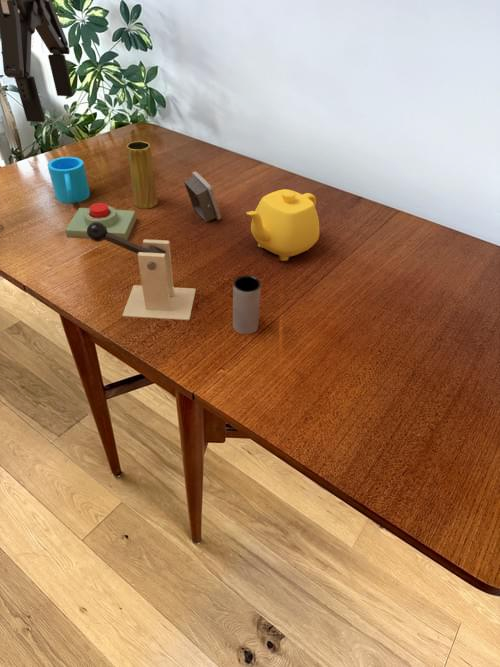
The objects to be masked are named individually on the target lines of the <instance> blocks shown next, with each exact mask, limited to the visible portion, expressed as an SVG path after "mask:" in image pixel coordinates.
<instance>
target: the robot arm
mask: <svg viewBox="0 0 500 667" xmlns="http://www.w3.org/2000/svg"><path fill="white" fill-rule="evenodd" d="M58 16H59V15H58V14H57V11H56V9H55V6H54V3H53V2H52V0H0V44H1V55H2V56H1V57H2V66H3V67H2V68H3V73H4V76H5V77H7V78H10V79H12V78H13V79H14V80H15V81H14V82H15V84H16V87H17V88H16V89H17V91H18V95H19V98H20V101H21V105H22V108H23V112H24V116H25V119H26V122H30V123H31V122H32V123H45V121H46V118H45V115H44V111H43V107H42V103H41V99H40V95H39V92H38V87H37V83H36V80H35V76H31V62H32V35H33V34H35V32H37V34H38V35H39V37H40V39H41V40H42V42H43V44H44V45H45V47H46V48H47V50H48V52H49V53H50V54H47V58H48V62H49V66H50V71H51V75H52V79H53V84H54V88H55V93H56V96H57V97H73V96H74V93H73V88H72V84H71V79H70V74H69V68H68V64H67V60H66V55H70V51H71V50H70V47H69V42H68V39H67V36H66V34H65V31H64V29H63V27H62V24H61V22H60V19H59V17H58Z"/></svg>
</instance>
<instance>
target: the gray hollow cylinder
mask: <svg viewBox="0 0 500 667" xmlns="http://www.w3.org/2000/svg"><path fill="white" fill-rule="evenodd" d="M261 289H262V282H261V280H260V279H259V278H258V277H256V276H255V275H249V274H247V275H246V274H243V275H240V276H237V277H235V279H234V280H233V283H232V328H233V330H234V331H235V332H237V333H238V334H241V335H251V334H254V333H255V332H257V331H258V329H259V323H260V322H259V320H260V309H261V308H260V307H261V306H260V305H261V293H262V292H261V291H262V290H261Z"/></svg>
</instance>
